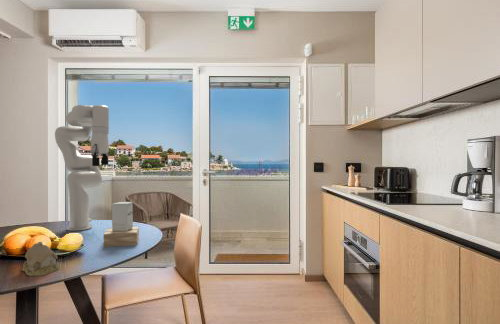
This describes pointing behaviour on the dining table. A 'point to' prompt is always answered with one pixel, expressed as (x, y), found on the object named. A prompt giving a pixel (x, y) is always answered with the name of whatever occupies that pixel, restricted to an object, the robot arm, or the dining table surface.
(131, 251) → the dining table surface
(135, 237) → the maple riser block
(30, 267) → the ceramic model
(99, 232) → the dining table surface
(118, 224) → the supplement box
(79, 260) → the dining table surface
